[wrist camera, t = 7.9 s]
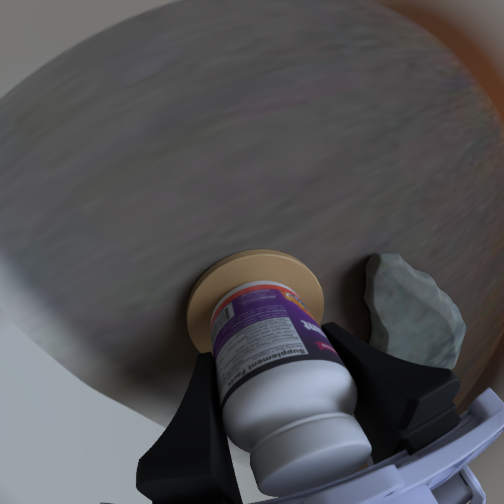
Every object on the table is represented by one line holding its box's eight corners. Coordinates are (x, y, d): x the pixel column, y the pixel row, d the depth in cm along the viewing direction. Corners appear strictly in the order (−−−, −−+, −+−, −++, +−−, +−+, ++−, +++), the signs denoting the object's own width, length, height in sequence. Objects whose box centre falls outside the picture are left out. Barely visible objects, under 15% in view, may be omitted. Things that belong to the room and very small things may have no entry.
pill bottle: (312, 334, 17) (388, 462, 8) (231, 367, 17) (265, 511, 8) (288, 261, 15) (394, 404, 6) (192, 300, 15) (204, 477, 6)
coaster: (319, 345, 19) (324, 352, 18) (204, 372, 18) (205, 381, 17) (317, 235, 16) (322, 240, 15) (170, 265, 15) (169, 271, 14)
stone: (333, 307, 15) (459, 208, 14) (314, 281, 18) (428, 197, 17) (397, 420, 21) (476, 357, 20) (384, 398, 24) (458, 340, 23)
